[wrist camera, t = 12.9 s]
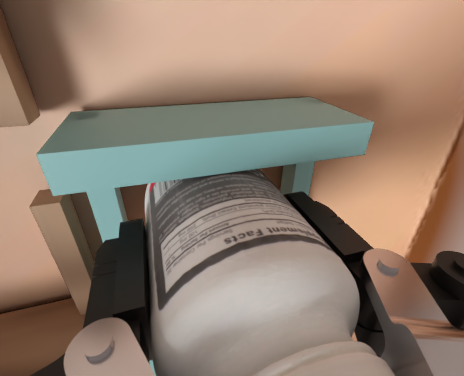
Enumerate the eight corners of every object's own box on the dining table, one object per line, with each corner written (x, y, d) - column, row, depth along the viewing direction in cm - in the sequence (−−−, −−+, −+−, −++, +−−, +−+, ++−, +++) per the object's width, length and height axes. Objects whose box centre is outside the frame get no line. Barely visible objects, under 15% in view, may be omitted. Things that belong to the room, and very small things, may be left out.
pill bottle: (243, 238, 14) (376, 498, 6) (139, 241, 12) (145, 622, 4) (271, 146, 12) (541, 375, 4) (149, 130, 10) (199, 521, 2)
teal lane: (270, 351, 24) (302, 428, 19) (155, 389, 21) (160, 487, 16) (310, 96, 12) (411, 136, 8) (70, 111, 10) (12, 184, 5)
